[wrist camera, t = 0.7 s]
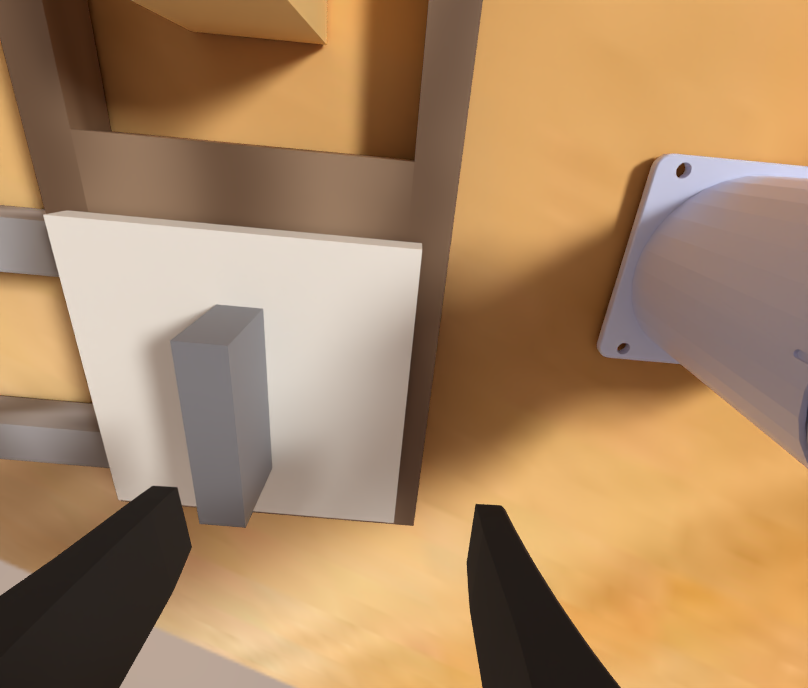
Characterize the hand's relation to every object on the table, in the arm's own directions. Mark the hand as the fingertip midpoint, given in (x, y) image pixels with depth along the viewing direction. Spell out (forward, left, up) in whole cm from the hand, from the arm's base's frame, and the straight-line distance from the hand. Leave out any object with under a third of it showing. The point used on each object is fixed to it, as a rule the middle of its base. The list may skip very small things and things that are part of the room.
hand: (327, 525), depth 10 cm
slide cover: (+4, 0, -7) cm, 8 cm away
